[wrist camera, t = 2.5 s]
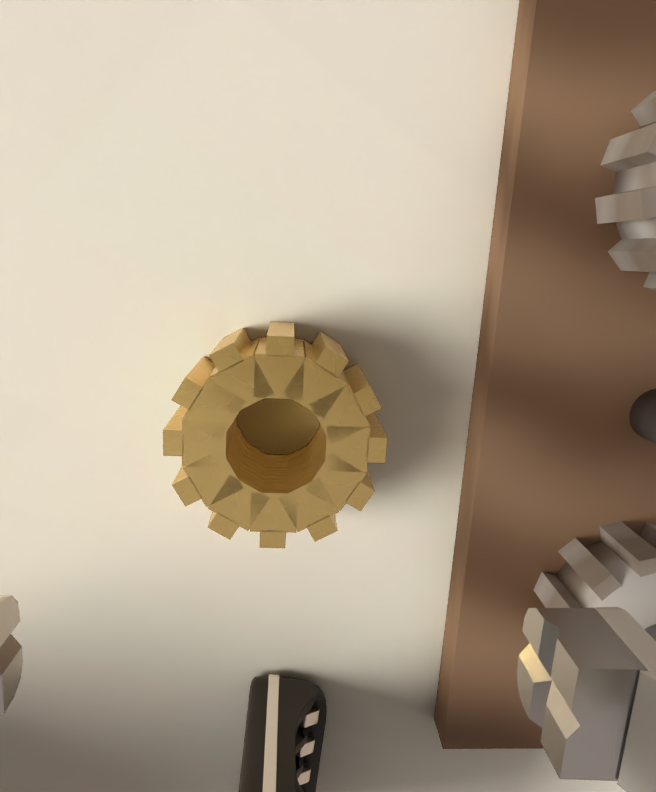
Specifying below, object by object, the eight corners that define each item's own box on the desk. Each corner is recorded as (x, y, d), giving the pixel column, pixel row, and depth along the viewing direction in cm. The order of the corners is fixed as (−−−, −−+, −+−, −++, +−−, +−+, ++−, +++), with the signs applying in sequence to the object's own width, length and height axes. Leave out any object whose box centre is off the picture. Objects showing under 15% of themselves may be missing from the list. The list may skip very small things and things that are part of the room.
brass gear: (184, 317, 20) (161, 330, 16) (378, 326, 20) (395, 341, 17) (184, 499, 21) (164, 545, 18) (364, 504, 22) (377, 550, 19)
